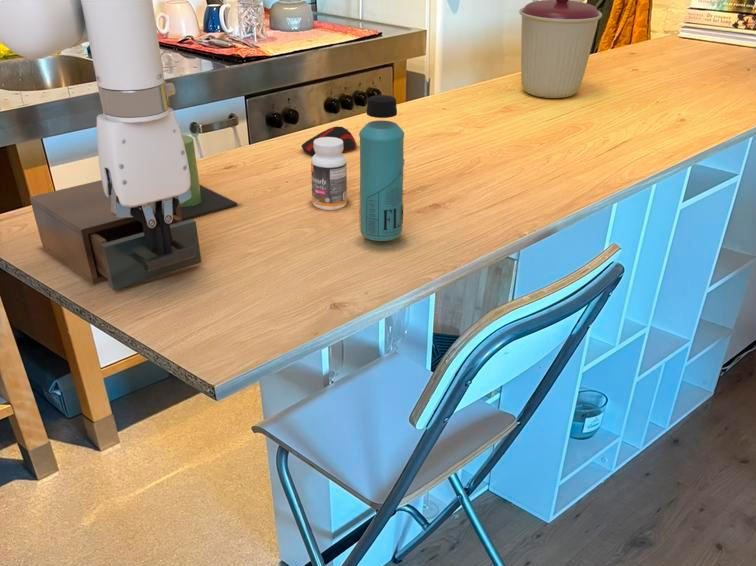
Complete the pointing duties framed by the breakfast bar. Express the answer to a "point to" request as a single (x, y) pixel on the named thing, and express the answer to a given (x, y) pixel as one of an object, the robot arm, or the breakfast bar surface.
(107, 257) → the drawer
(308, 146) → the computer mouse
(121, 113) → the robot arm
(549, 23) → the canister
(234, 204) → the mat
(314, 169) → the pill bottle
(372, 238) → the beverage bottle
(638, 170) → the breakfast bar surface
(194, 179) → the green can
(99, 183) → the cabinet
